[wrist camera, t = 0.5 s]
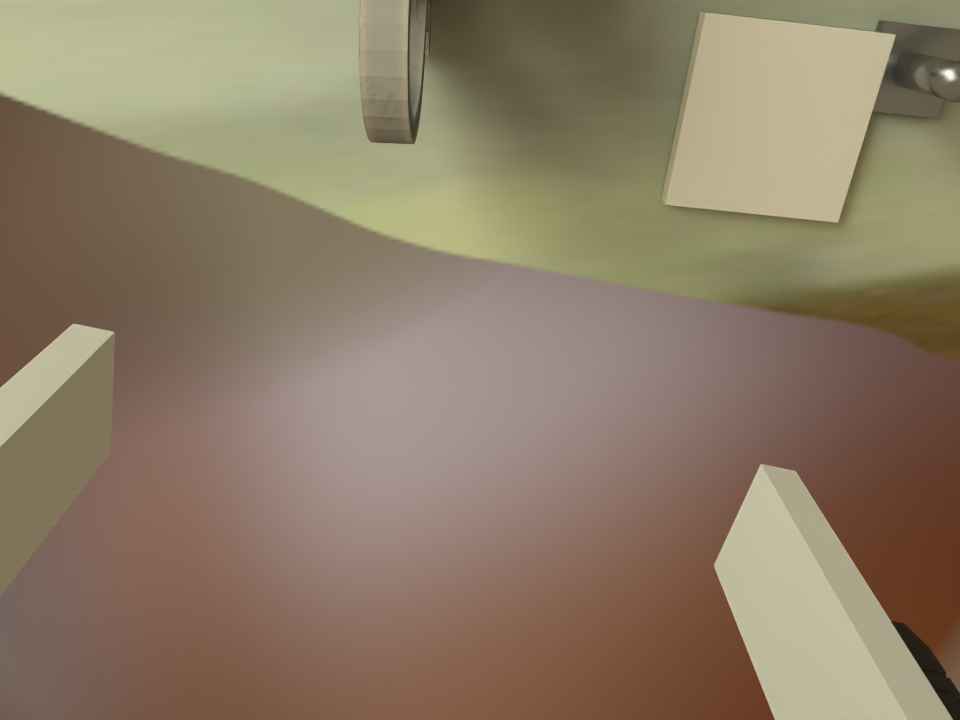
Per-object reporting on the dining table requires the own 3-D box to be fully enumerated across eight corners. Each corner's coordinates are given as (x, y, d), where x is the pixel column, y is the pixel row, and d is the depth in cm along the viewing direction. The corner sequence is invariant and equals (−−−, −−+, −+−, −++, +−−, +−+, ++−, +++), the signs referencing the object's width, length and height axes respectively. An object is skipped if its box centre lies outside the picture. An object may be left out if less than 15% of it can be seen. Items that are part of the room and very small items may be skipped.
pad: (700, 11, 38) (705, 12, 37) (885, 33, 38) (895, 34, 37) (661, 199, 41) (665, 204, 41) (830, 217, 42) (837, 222, 41)
